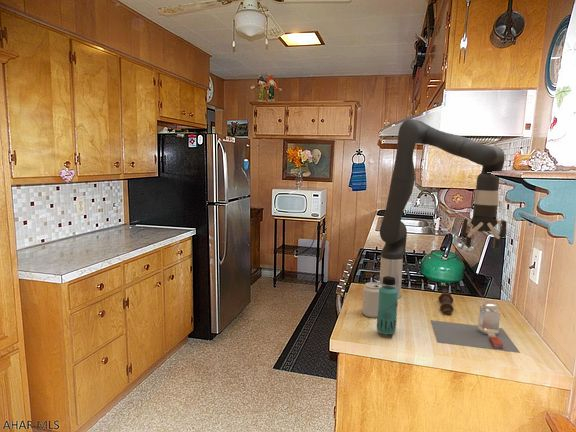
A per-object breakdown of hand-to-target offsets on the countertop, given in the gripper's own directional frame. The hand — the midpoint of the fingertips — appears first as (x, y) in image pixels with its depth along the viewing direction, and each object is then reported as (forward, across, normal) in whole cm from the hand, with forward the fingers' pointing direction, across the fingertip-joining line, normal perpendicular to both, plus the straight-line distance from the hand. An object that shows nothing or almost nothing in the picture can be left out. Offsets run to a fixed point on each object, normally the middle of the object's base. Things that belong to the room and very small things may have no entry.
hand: (481, 247), depth 136 cm
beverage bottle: (+28, +32, +20) cm, 47 cm away
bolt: (+29, +8, -9) cm, 31 cm away
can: (+28, +37, +4) cm, 47 cm away
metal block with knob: (+25, -2, +10) cm, 27 cm away
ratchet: (+27, -2, +14) cm, 31 cm away
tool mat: (+28, +4, +14) cm, 32 cm away
